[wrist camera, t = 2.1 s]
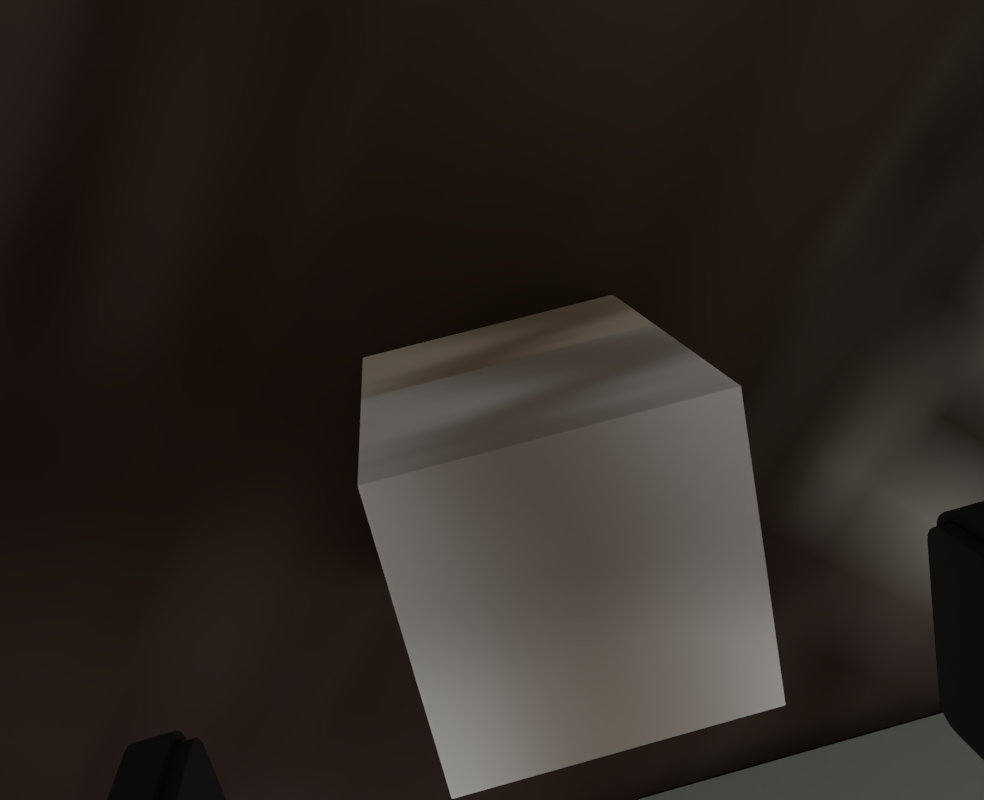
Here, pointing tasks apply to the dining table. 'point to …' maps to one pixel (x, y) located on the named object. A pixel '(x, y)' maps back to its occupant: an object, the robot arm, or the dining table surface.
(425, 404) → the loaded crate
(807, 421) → the dining table surface
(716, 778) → the dock
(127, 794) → the robot arm
